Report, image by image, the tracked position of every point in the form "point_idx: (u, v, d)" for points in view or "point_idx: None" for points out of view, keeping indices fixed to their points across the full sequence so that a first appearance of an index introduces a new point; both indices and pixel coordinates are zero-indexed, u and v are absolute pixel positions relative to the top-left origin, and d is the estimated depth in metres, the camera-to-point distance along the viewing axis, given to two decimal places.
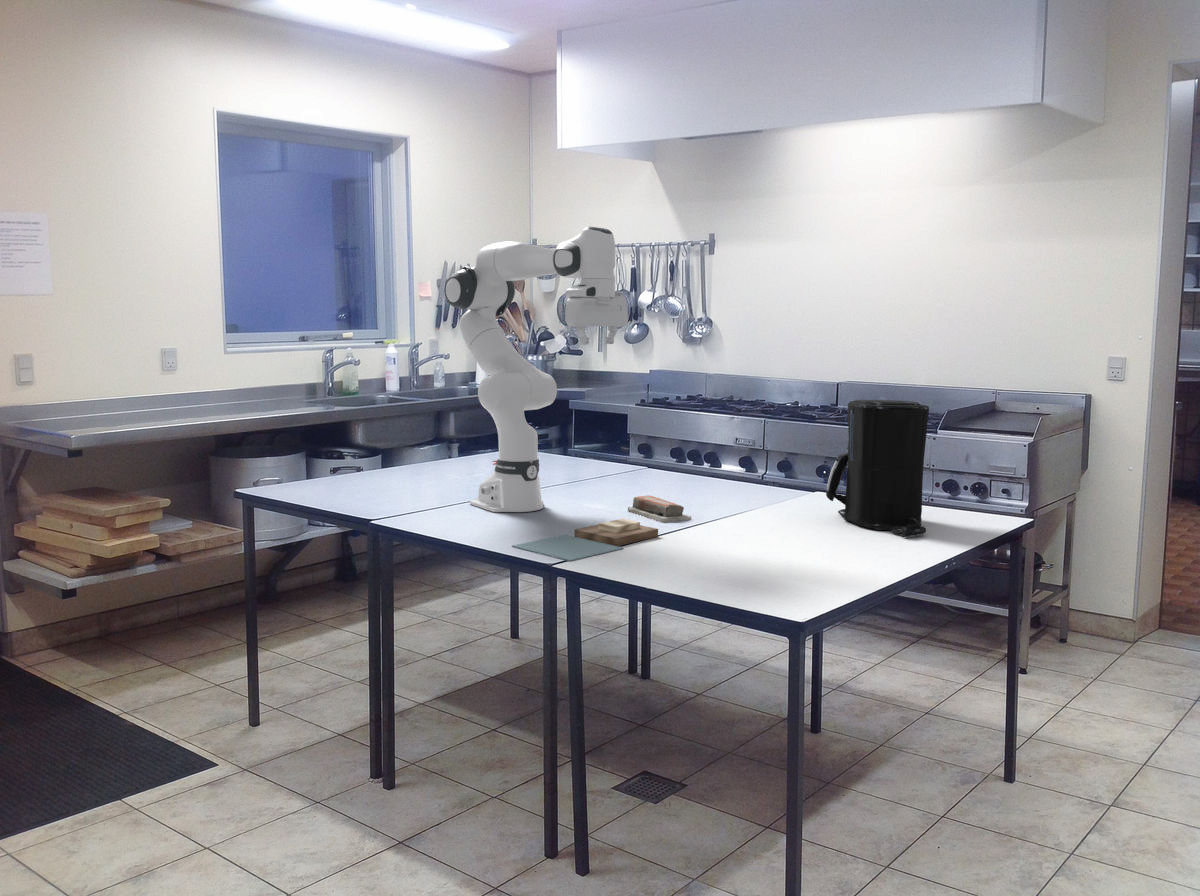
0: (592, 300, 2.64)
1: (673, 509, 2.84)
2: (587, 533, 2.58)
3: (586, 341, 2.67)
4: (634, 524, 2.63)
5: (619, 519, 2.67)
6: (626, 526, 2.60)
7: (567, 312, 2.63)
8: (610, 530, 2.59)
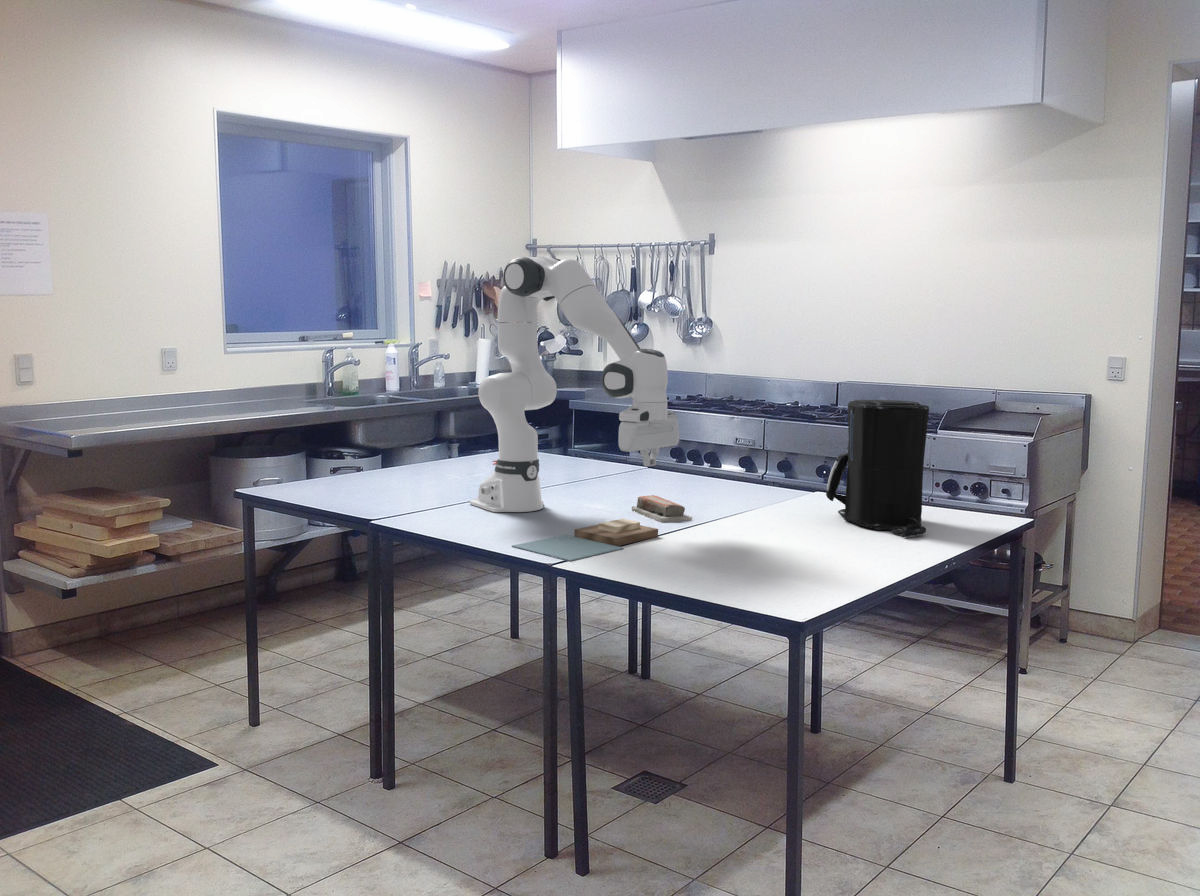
0: (645, 424, 2.62)
1: (673, 509, 2.84)
2: (587, 533, 2.58)
3: (649, 463, 2.67)
4: (634, 524, 2.63)
5: (619, 519, 2.67)
6: (626, 526, 2.60)
7: (620, 437, 2.61)
8: (610, 530, 2.59)
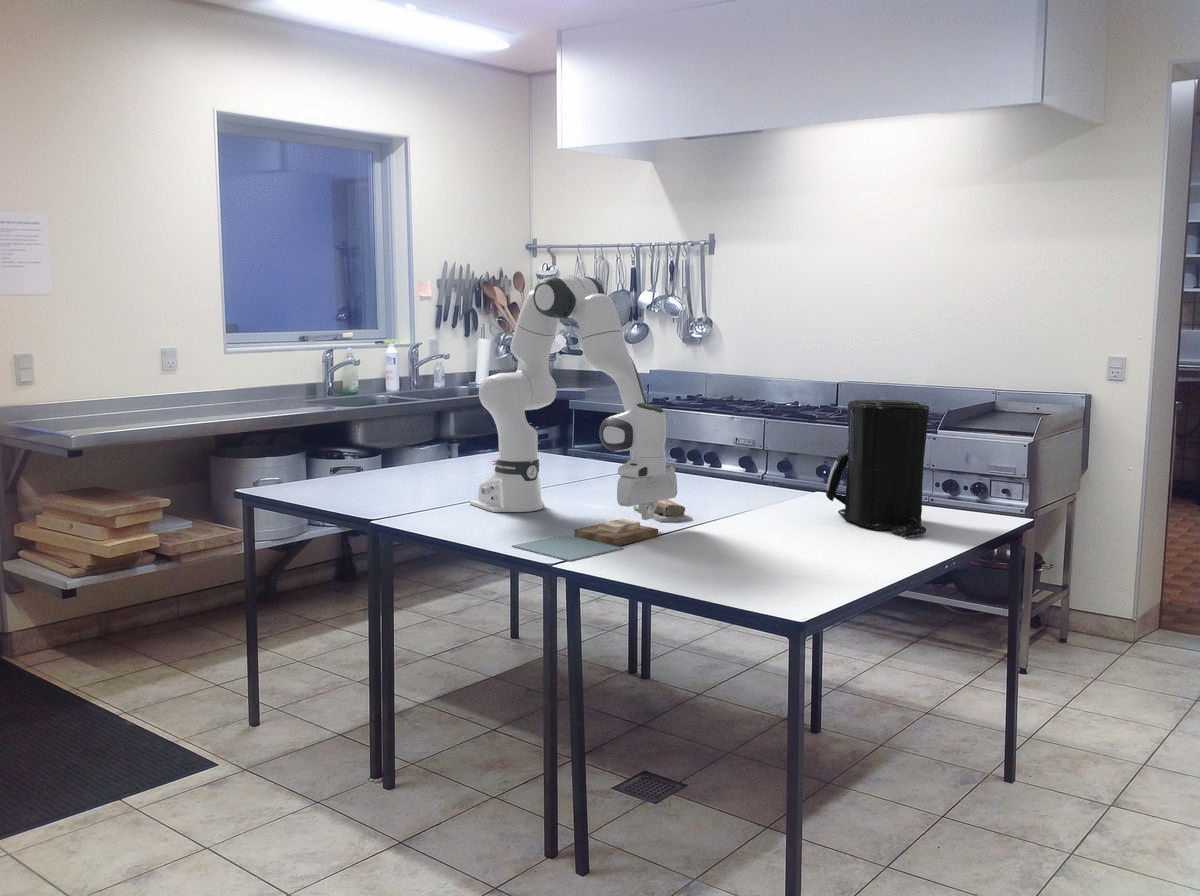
0: (644, 479, 2.64)
1: (673, 509, 2.84)
2: (587, 533, 2.58)
3: (647, 516, 2.69)
4: (634, 524, 2.63)
5: (619, 519, 2.67)
6: (626, 526, 2.60)
7: (619, 492, 2.63)
8: (610, 530, 2.59)
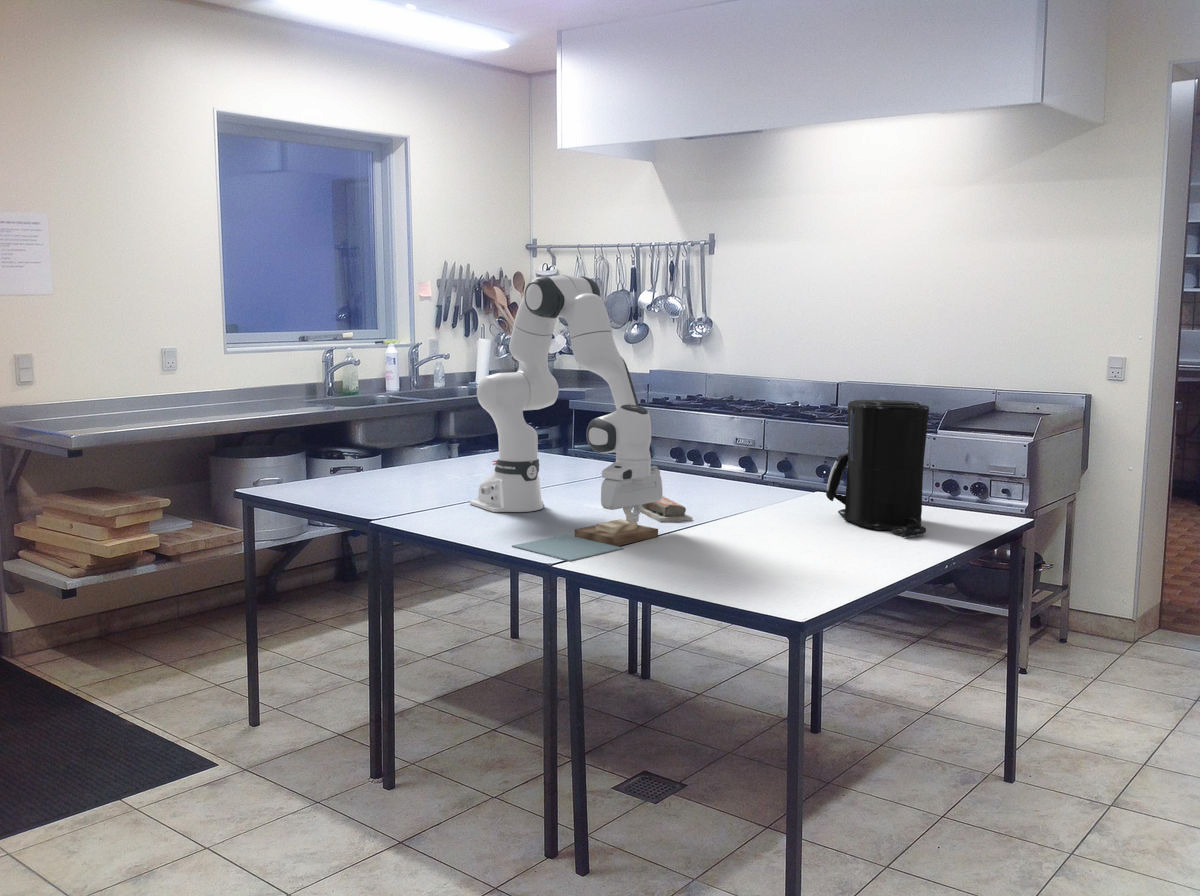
0: (628, 482, 2.60)
1: (673, 509, 2.84)
2: (587, 533, 2.58)
3: (632, 520, 2.65)
4: (631, 525, 2.62)
5: (616, 520, 2.66)
6: (623, 527, 2.60)
7: (603, 495, 2.59)
8: (607, 531, 2.58)
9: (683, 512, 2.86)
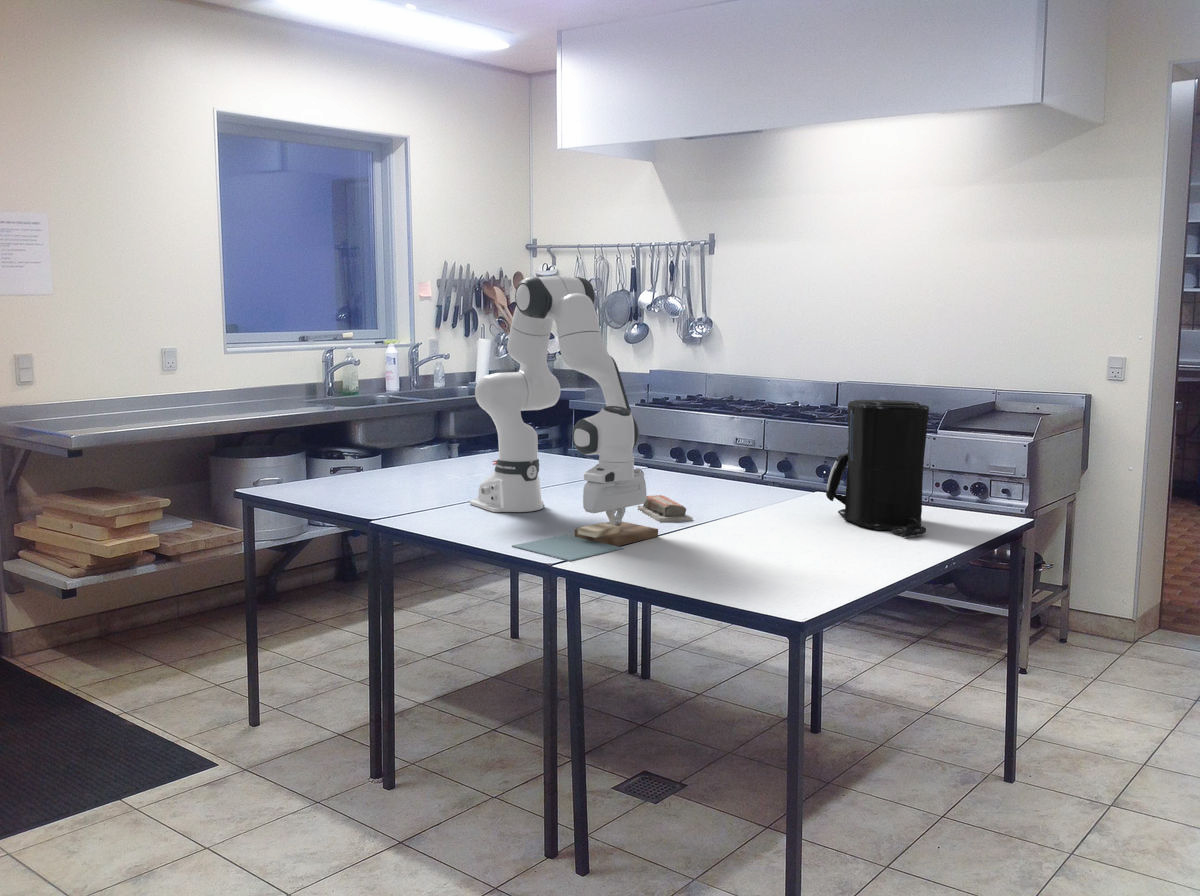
0: (611, 485, 2.55)
1: (673, 509, 2.84)
2: None
3: (615, 523, 2.60)
4: (614, 528, 2.57)
5: (599, 523, 2.62)
6: (606, 530, 2.55)
7: (585, 498, 2.54)
8: (590, 535, 2.54)
9: (683, 512, 2.86)
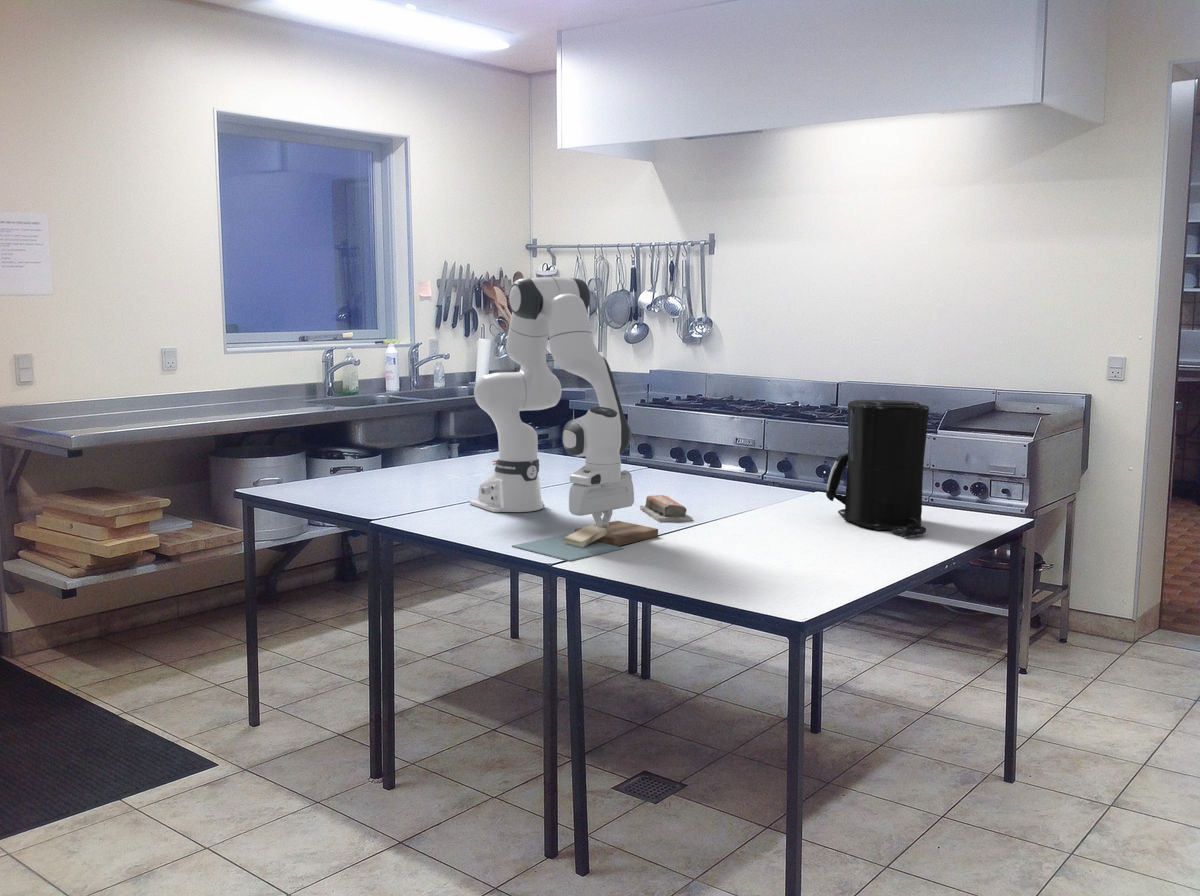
0: (597, 487, 2.52)
1: (673, 509, 2.84)
2: None
3: (602, 526, 2.57)
4: (601, 532, 2.54)
5: (585, 526, 2.58)
6: (592, 537, 2.52)
7: (571, 500, 2.51)
8: (576, 544, 2.50)
9: (684, 512, 2.86)
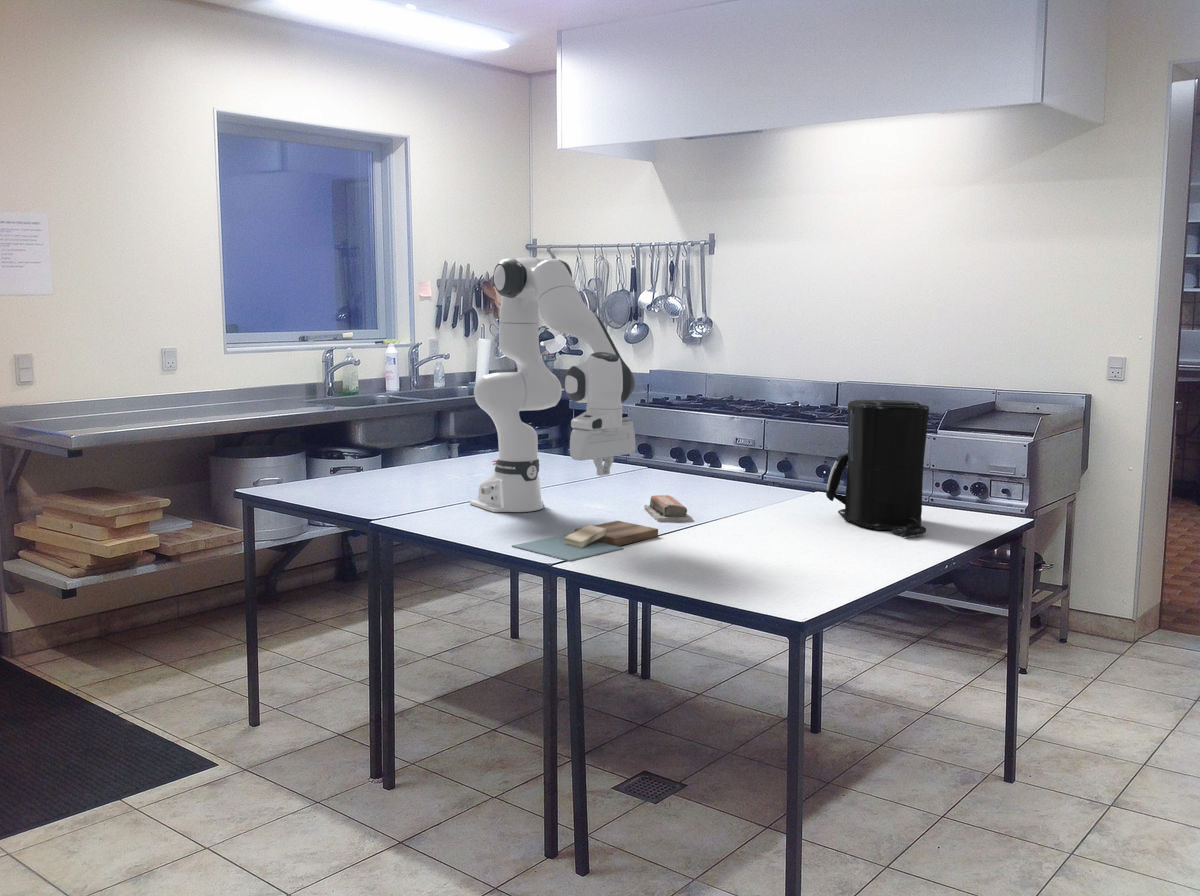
0: (598, 432, 2.50)
1: (673, 509, 2.84)
2: None
3: (603, 472, 2.55)
4: (600, 532, 2.53)
5: (585, 526, 2.58)
6: (592, 537, 2.52)
7: (572, 445, 2.49)
8: (576, 544, 2.50)
9: (684, 513, 2.85)
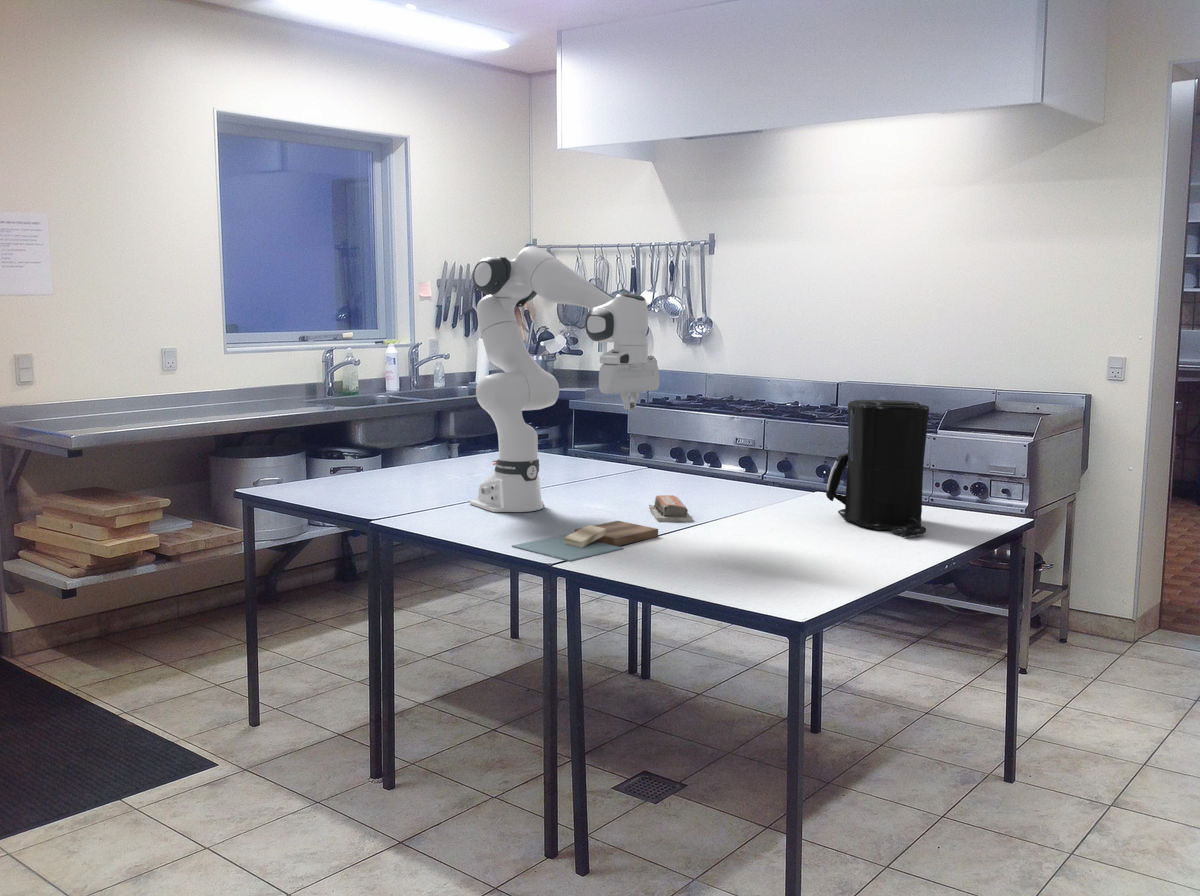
0: (625, 367, 2.65)
1: (673, 509, 2.84)
2: None
3: (629, 406, 2.70)
4: (600, 532, 2.53)
5: (585, 526, 2.58)
6: (592, 537, 2.52)
7: (601, 379, 2.64)
8: (576, 544, 2.50)
9: (685, 513, 2.85)
